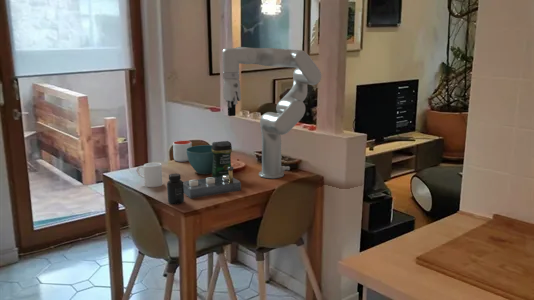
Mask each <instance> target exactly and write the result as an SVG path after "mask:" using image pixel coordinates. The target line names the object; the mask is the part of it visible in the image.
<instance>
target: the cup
mask: <svg viewBox="0 0 534 300" xmlns="http://www.w3.org/2000/svg"><path fill="white" fill-rule="evenodd" d="M189 147H192V141H189V140H177V141H173V142H172V149H173V150H172V154H173V160H174V161H175V162H179V163H183V162H184V163H185V162H189V160H188V156H187V151H186V149H187V148H189Z"/></svg>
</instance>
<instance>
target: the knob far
mask: <svg viewBox="0 0 534 300" xmlns="http://www.w3.org/2000/svg"><path fill="white" fill-rule="evenodd" d="M188 181H189V186H190V187H192V186H198V179H190V180H188Z"/></svg>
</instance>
